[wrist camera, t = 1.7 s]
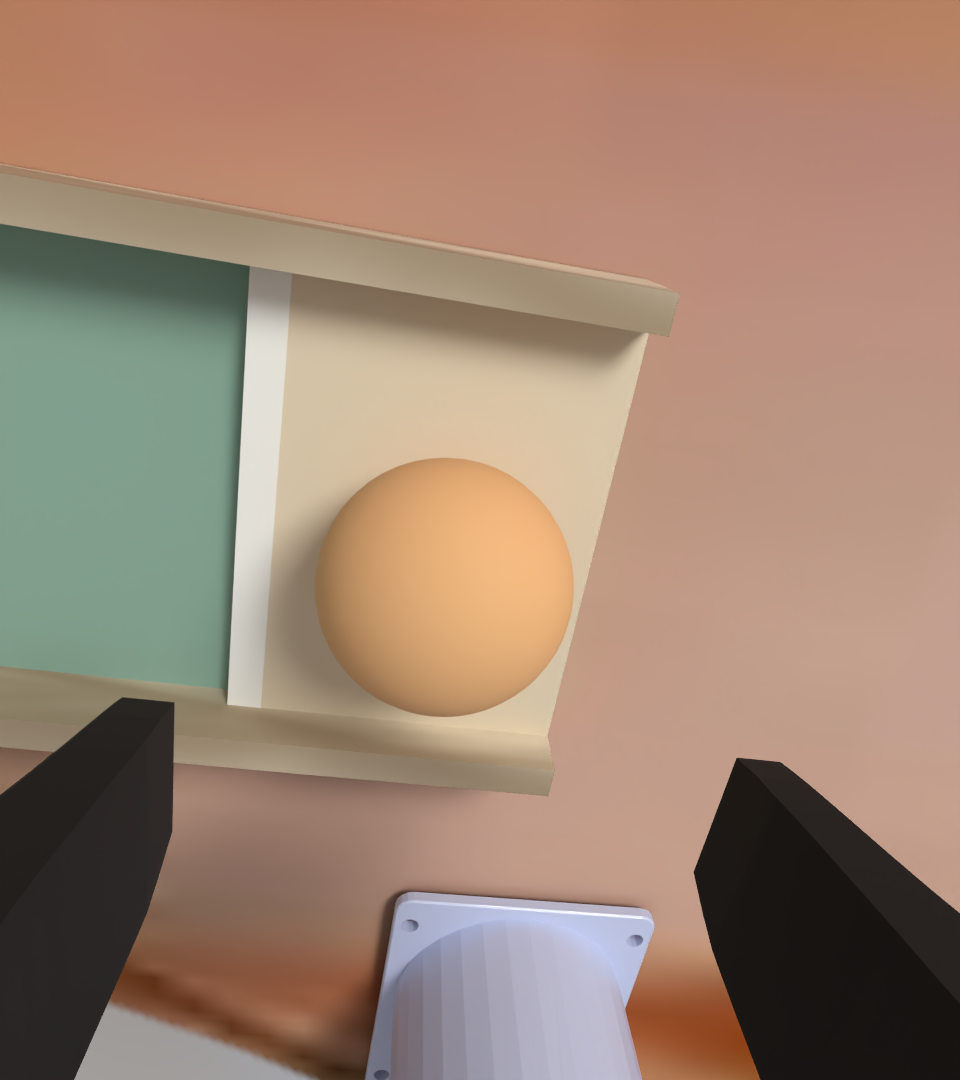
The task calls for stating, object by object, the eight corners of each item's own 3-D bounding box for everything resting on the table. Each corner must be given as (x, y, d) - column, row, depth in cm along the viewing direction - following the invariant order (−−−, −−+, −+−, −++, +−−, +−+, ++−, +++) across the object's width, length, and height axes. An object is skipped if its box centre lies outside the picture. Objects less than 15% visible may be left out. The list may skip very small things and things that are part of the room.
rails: (535, 731, 22) (548, 796, 19) (-138, 664, 19) (-213, 728, 17) (645, 278, 17) (680, 293, 15) (-228, 122, 15) (-348, 111, 12)
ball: (529, 642, 19) (563, 785, 14) (320, 618, 18) (285, 760, 14) (574, 444, 17) (629, 539, 12) (341, 410, 16) (309, 496, 12)
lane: (535, 731, 22) (540, 761, 20) (-138, 664, 19) (-171, 693, 18) (645, 278, 17) (661, 285, 16) (-228, 122, 15) (-281, 117, 14)
